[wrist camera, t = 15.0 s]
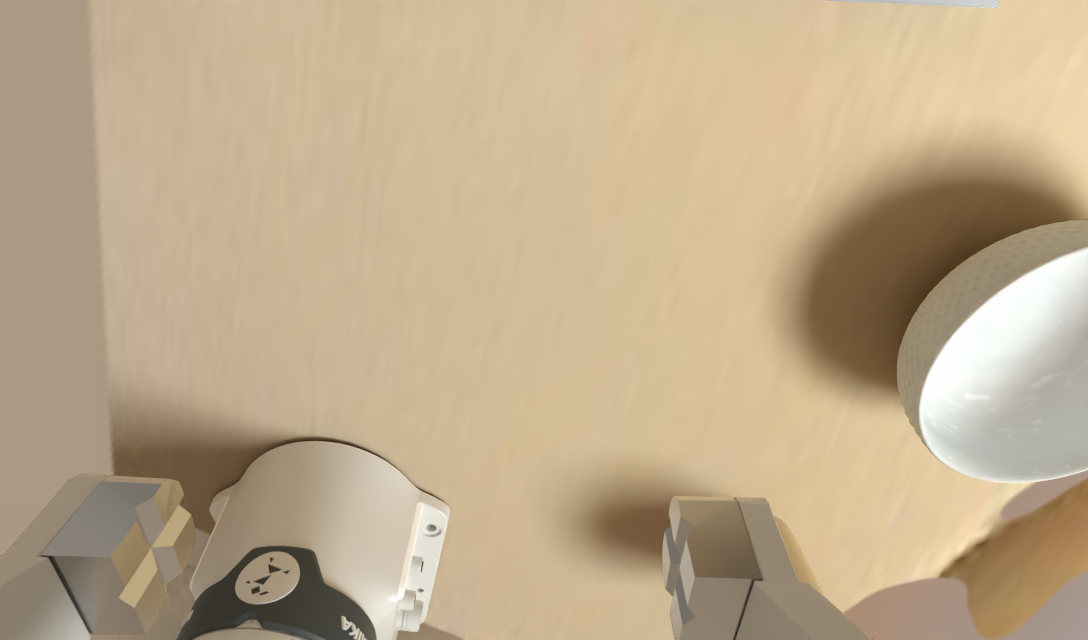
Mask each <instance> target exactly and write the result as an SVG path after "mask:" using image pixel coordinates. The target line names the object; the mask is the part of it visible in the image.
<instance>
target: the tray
mask: <svg viewBox="0 0 1088 640" xmlns="http://www.w3.org/2000/svg"><path fill="white" fill-rule="evenodd" d="M828 1H850V2H872V3H894V4H916V5H939V6H961V7H983V8H997V6H998V3H999V0H828Z"/></svg>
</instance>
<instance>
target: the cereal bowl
mask: <svg viewBox="0 0 1088 640" xmlns="http://www.w3.org/2000/svg"><path fill="white" fill-rule="evenodd" d="M897 385H898V392H899V395H900V397H901V403H902V405H903V407H904V410H905V414H906V415H907V417H908V418H909V421H910V424H911V425H912V426H913V427H914V429H915V431H916V433H917V434H918V436H919V437H920V438H921V440H922V443H923V444H924V445H925V446H926V447H927V448H928V450H929V451H930V452H931V453H932V454H933V455H934V456H935V457H936V458H937V459H938V460H940V461H941V462H942V463H943V464H945V465H946V466H948V467H950V468H951V469H953V470H955V471H957V472H959V473H962V474H964V475H967V476H970V477H973V478H977V479H981V480H985V481H991V482H999V483H1027V482H1037V481H1045V480H1051V479H1055V478H1060V477H1065V476H1069V475H1072V474H1076V473H1079V472H1082V471H1086V470H1088V219H1084V220H1070V221H1066V222H1057V223H1052V224H1048V225H1041V226H1038V227H1036V228H1031V229H1028V230H1023V231H1022V232H1020V233H1017V234H1013V235H1011V236H1009V237H1007V238H1004V239H1002V240H1000V241H998V242H995V243H993V244H992V245H990V246H988V247H986V248H983V249H982V250H981V251H979V252H977V253H976V254H975V255H972V256H970V257H969V258H968V259H967V260H965V261H963V263H962V264H960V265H958V266H957V267H956V268H955V269H954V270H952V271H951V272H949V274H948V275H947V276H945V277H944V278H943V280H941V281H940V282H939V283H938V285H936V286H935V287H934V288H933V290H932V291H931V292H929V294H928V296H927V297H926V298H925V300H924V301H923V302H922V303H921V304H920V306H919V307H918V310H917V311H916V312H915V314H914V315H913V317H912V319H911V322H910V323H909V325H908V327H907V329H906V332H905V335H904V336H903V339H902V343H901V346H900V349H899V356H898V359H897Z"/></svg>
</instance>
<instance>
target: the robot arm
mask: <svg viewBox="0 0 1088 640" xmlns="http://www.w3.org/2000/svg"><path fill="white" fill-rule="evenodd" d="M184 496H185V495H184V492H183V490H182V488H181V485H180V483H179V481H177V480H173V479H163V478H147V477H130V476H113V475H111V476H105V475H88V474H80V475H78V476H76V477H74V478H72V479H70V480H69V481H68V482H67V483H66V484H65V486H64V487H63V488H62V489H61V490H60V491H59V492H58V494H57V495H56V496H55V497H54V498H53V499H52V500H51V501H50V502H49V504H48V505H47V506H46V507H45V508H44V509H43V510H42V512H41V513H40V514H39V515H38V516H37V517H36V519H35V520H34V521H33V522H32V523H31V524H30V525H29V526H28V528H27V529H26V530H25V531H24V532H23V533H22V534H21V535H20V537H19V538H18V539H17V540H16V541H15V542H14V543H13V545H12V546H11V547H10V548H9V549H8V550H7V551H6V553H5V554H4V555H0V640H89V639H90V638H91V635H90V634H97V635H99V634H100V635H101V634H106V635H107V634H108V635H116V634H117V635H146V634H147V633H148V631H149V630H150V628H151V626H152V624H153V622H154V621H155V619H156V617H157V616H158V614H159V612H160V611H161V609H162V607H163V605H164V604H165V602H166V600H167V598H168V592H167V588H166V584H167V583H168V582H170V581H171V580H172V579H174V578H175V577H177V576H178V575H179V574H181V573H182V572H183V570H184V568H185V567H186V565H187V563H188V561H189V559H190V557H191V554H192V550H193V546H194V542H195V524H194V521H193V518H192V515H191V514H190V513H189V512H188V511H186V510H185V509H184V508H182V507H181V506H180V505H179V504H180V502H181V500H182V499H183V497H184ZM209 511H210V514H211V516H212V518H213V519H214V521H215V523H216V525H215V527H214V529H213V531H212V533H211V536H210V538H209V540H208V542H207V545H206V547H205V549H204V551H203V554H202V556H201V558H200V561H199V563H198V565H197V567H196V569H195V572H194V574H193V576H192V579H191V582H190V591H191V592H192V593H193V597H194V599H195V601H196V602H195V604H194V605H193V607H192V609H191V611H190V613H189V615H188V616H186V618H185V619H184V621H183V623H182V625H181V627H180V629H179V632H178V634H177V638H176V640H396V638H397V633H398V630H403V631H404V630H406V631H410V632H416V631H419V626H420V624H421V623H423V622H424V620H425V618H426V614H427V611H428V608H429V604H430V599H431V595H432V591H433V586H434V582H435V578H436V573H437V569H438V565H439V561H440V556H441V552H442V548H443V543H444V539H445V535H446V530H447V526H448V522H449V518H450V509H449V507H448V506H447V505H446V504H445V503H444V502H442V501H441V500H439V499H437V498H435V497H433V496H431V495H429V494H427V493H425V492H422V491H420V490H419V489H418V488H416V487H415V486H414V485H413V484H412V483H411V482H410V481H409V480H408V479H407V478H406V477H405V476H404V475H403V474H402V473H401V472H400V471H398V470H397V469H396V468H395V467H394V466H392V465H391V464H389V463H388V462H386V461H385V460H383V459H381V458H379V457H377V456H376V455H374V454H371V453H369V452H367V451H364V450H362V449H359V448H356V447H352V446H349V445H344V444H340V443H334V442H325V441H304V442H296V443H291V444H286V445H283V446H279V447H277V448H274V449H272V450H270V451H268V452H266V453H264V454H263V455H261V456H260V457H258V458H257V459H256V460H255V461H254V462H253V463H252V464H251V465H250V466H249V467H248V468H247V470H246V472H245V473H244V475H243V476H242V478H241V479H240V480H239V481H238V482H237V483H236V484H235V485H233V486H231V487H229V488H227V489H225V490H223V491H221V492H219V493H218V494H217V495H216V496H215V497H214V498H213V501H212V503H211V505H210V508H209ZM669 517H670V522H671V526H670V527H669V528H668V529H666V530H665V533H664V539H663V548H662V566H663V576H664V583H665V589H666V590H667V591H668V592H669V593H670V594H671V595H672V596H673V600H672V605H671V609H670V618H671V623H672V629H673V634H674V640H873V639H871V638H870V637H869V636H868V635H867V634H866V633H865V632H863V630H861V629H860V628H859V627H858V626H857V625H856V624H855V623H853V622H852V621H851V620H850V619H849V618H848V617H847V616H846V615H844V614H843V613H842V612H841V611H840V610H839V609H838V608H837V607H835V606H834V605H833V604H832V603H831V602H830V601H829V600H828V599H826V598H825V597H824V596H823V595H822V594H821V593H820V592H819V591H817V590H816V589H815V588H814V587H813V586H812V585H811V584H810V583H805V582H799V580H798V577H797V575H796V572H795V570H794V567H793V564H792V562H791V559H790V557H789V554H788V551H787V549H786V546H785V544H784V541H783V538H782V536H781V533H780V531H779V528H778V525H777V523H776V520H775V518H774V515H773V512H772V510H771V507H770V505H769V503H768V502H767V501H766V500H765V499H764V498H737V497H734V498H731V497H700V496H673V498H672V500H671V503H670V508H669ZM432 524H433V525H432Z"/></svg>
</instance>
